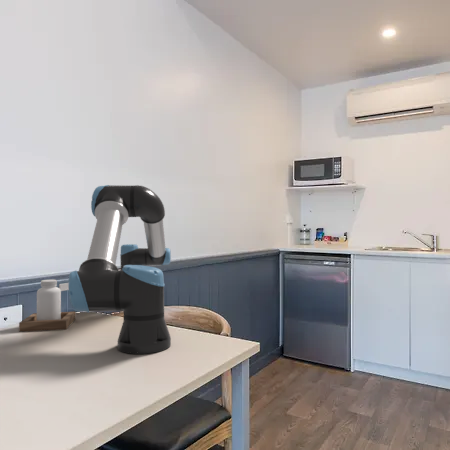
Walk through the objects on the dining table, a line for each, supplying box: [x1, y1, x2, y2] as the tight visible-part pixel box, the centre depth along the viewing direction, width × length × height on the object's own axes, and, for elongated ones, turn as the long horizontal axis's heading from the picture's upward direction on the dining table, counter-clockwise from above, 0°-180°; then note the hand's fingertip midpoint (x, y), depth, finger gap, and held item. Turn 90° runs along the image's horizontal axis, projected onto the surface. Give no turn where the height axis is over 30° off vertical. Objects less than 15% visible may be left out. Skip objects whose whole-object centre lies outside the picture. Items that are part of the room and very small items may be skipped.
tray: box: [18, 311, 76, 333], centre depth 145 cm, size 15×15×3 cm
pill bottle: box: [36, 279, 62, 321], centre depth 145 cm, size 8×8×15 cm
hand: (71, 288), depth 153 cm, fingers open, 13 cm apart
